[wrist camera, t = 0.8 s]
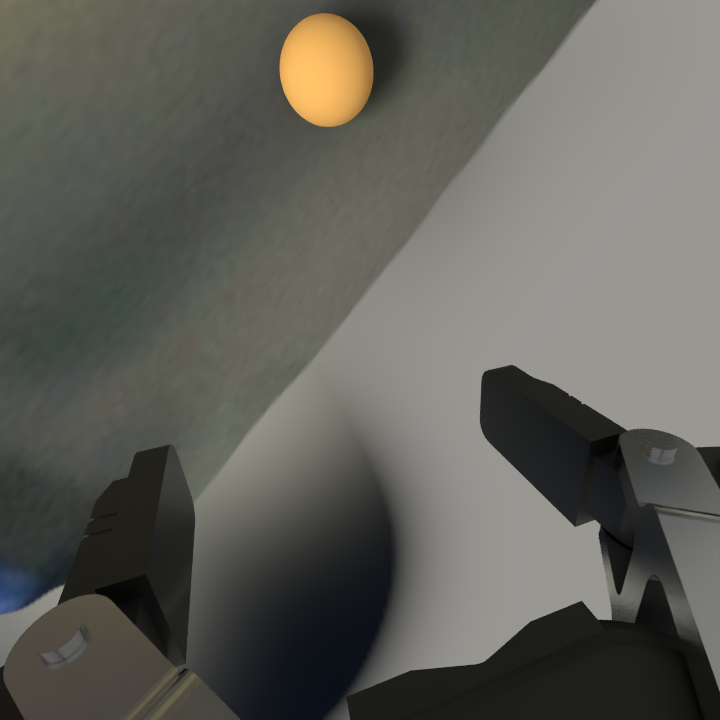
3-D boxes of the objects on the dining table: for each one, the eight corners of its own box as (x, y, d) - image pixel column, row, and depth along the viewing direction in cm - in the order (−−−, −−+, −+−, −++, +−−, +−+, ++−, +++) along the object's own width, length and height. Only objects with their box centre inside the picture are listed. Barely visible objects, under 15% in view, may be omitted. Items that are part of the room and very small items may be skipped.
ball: (265, 32, 25) (277, -1, 20) (352, 27, 26) (382, -5, 22) (283, 134, 28) (297, 127, 23) (362, 126, 29) (390, 117, 24)
